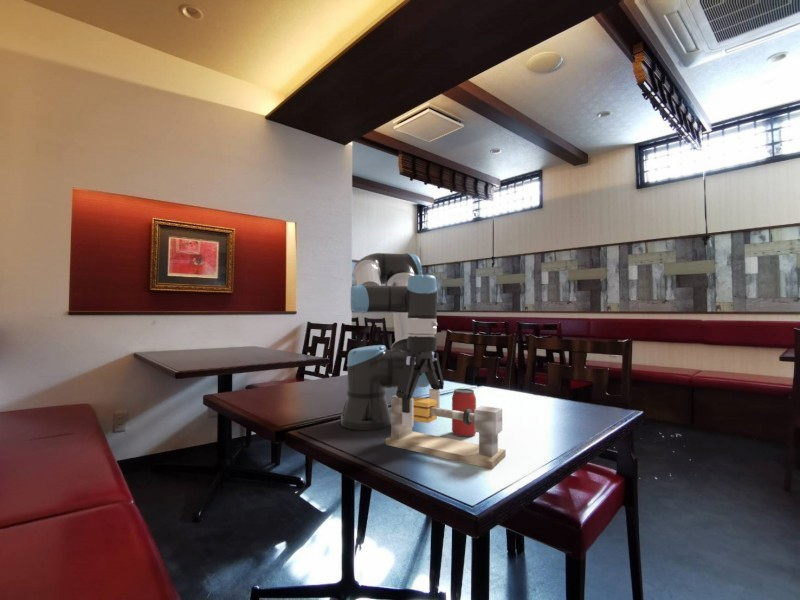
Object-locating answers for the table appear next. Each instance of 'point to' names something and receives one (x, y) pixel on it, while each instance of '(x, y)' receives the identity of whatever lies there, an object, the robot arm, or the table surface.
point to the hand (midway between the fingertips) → (421, 419)
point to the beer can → (459, 403)
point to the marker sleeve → (423, 409)
